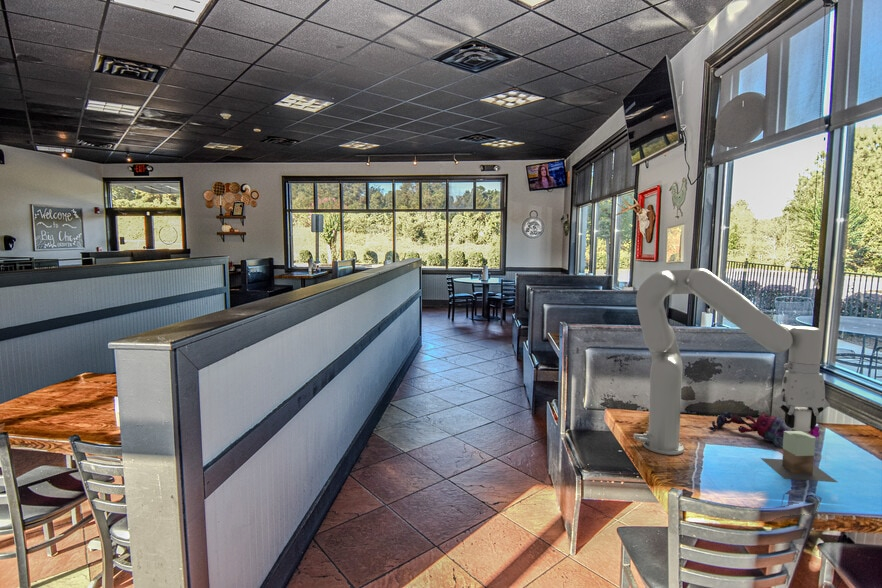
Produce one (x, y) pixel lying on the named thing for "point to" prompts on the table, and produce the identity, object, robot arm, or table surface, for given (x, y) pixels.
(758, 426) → the toy
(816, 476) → the mat
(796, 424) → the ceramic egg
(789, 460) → the block bottom
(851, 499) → the table surface
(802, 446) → the block top
